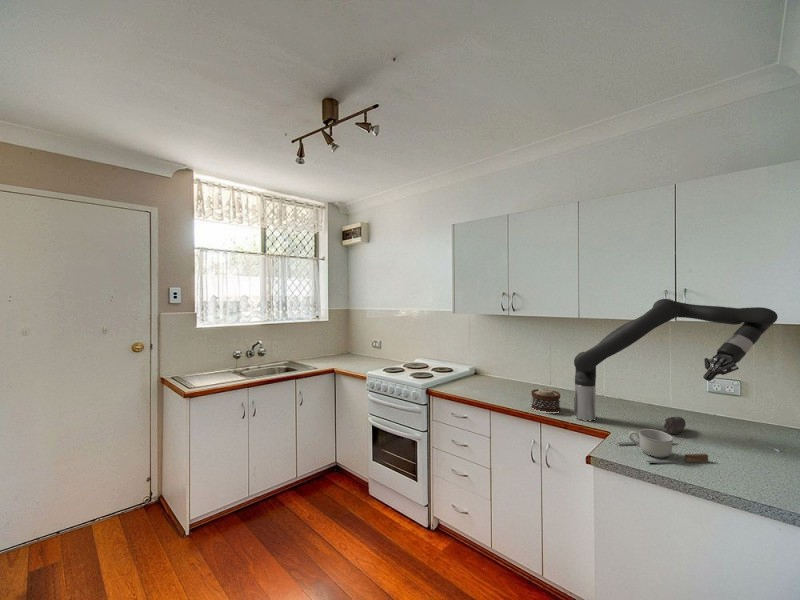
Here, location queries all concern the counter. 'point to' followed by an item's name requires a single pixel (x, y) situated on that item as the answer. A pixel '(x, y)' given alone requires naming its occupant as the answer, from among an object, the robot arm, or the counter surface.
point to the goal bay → (651, 460)
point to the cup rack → (696, 458)
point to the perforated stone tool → (674, 425)
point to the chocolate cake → (545, 400)
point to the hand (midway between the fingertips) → (706, 379)
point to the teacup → (653, 442)
